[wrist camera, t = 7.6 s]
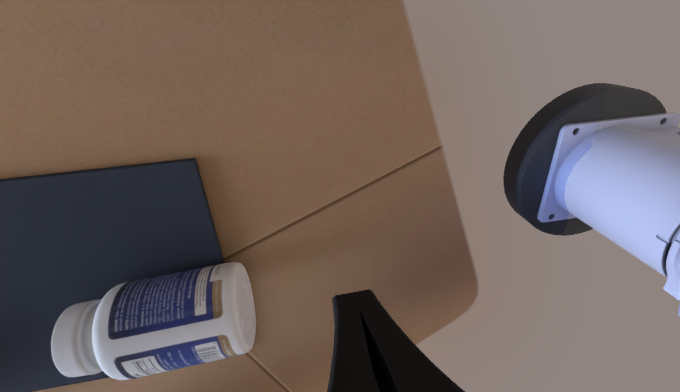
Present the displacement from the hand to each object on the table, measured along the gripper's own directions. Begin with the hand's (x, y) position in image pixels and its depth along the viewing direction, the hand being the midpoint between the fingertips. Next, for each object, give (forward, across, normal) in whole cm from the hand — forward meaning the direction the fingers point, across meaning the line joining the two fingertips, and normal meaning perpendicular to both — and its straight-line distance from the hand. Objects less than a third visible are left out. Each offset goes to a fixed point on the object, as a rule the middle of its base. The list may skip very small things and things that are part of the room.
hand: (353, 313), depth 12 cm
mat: (+11, +17, +5) cm, 20 cm away
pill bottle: (+7, +5, +6) cm, 11 cm away
